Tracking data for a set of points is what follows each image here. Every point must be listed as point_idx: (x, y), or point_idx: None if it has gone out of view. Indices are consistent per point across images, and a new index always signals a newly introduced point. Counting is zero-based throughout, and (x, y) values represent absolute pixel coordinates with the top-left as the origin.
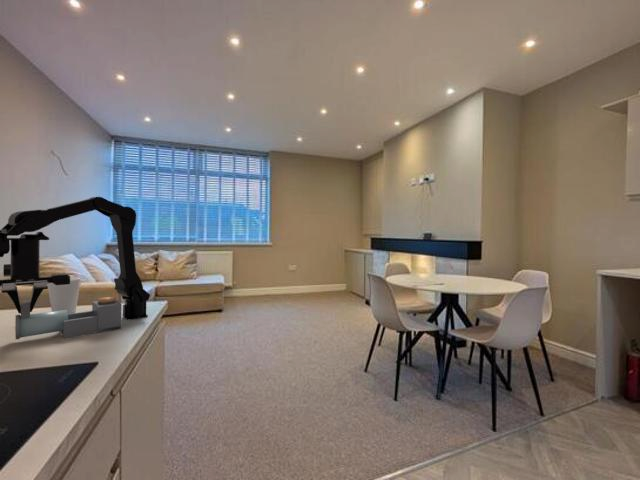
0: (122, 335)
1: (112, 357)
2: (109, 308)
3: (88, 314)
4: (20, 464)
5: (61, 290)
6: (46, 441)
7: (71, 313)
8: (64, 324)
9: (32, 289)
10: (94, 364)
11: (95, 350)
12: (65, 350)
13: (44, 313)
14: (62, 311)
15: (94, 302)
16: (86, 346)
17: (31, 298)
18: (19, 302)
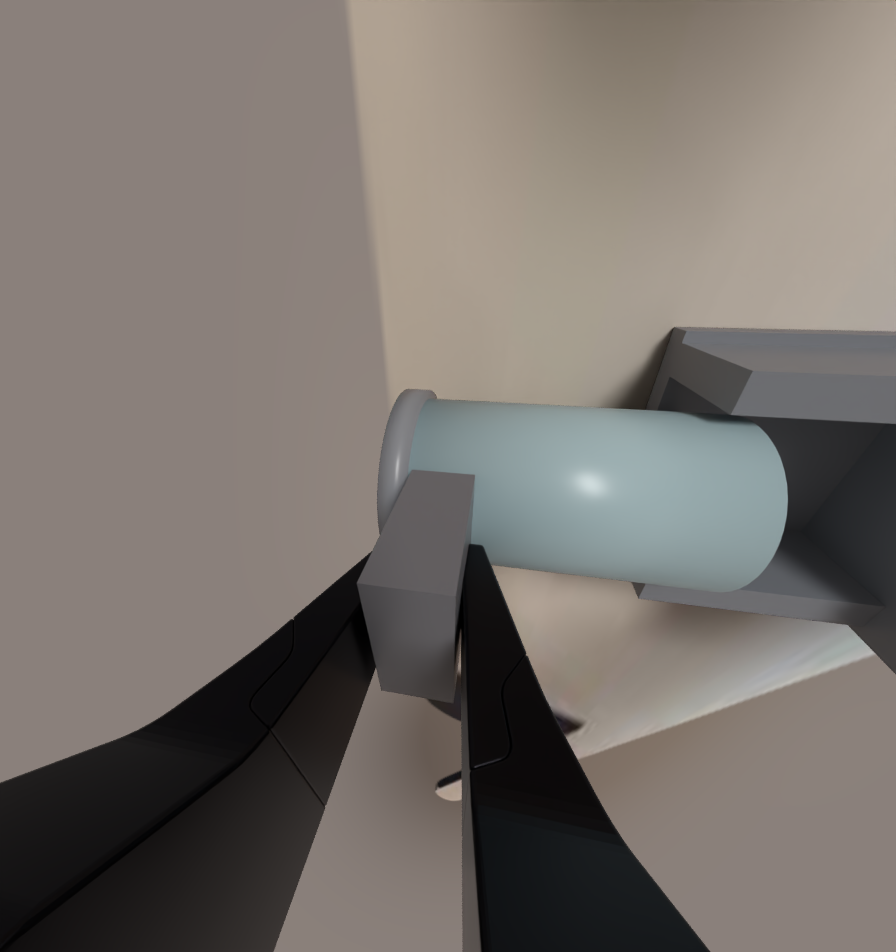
0: (793, 632)
1: (618, 727)
2: None
3: None
4: (443, 795)
5: None
6: (461, 792)
7: (872, 376)
8: (635, 582)
9: (474, 886)
10: (570, 727)
11: (618, 679)
12: (558, 632)
13: (569, 560)
14: (706, 578)
15: None
16: (620, 643)
17: (462, 734)
18: (364, 695)
